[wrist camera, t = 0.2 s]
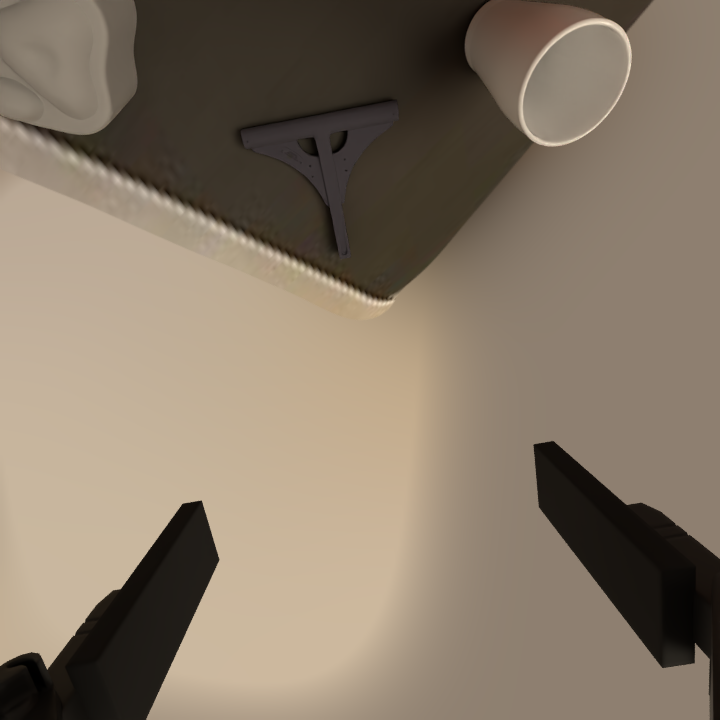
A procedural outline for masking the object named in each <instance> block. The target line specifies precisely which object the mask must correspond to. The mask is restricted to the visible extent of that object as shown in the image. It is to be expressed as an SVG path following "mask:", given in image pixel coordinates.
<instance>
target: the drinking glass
mask: <svg viewBox="0 0 720 720" xmlns="http://www.w3.org/2000/svg"><path fill="white" fill-rule="evenodd" d="M465 55H466V59H467V62H468V64H469V66H470V67H471V69H472V70H473V71H474V72H475V73H476V74H477V75H478V76H479V78H480V79H481V81H482V82H483V84H484V85H485V87H486V88H487V90H488V91H489V93H490V94H491V96H492V97H493V99H494V101H495V102H496V104H497V105H498V107H499V108H500V110H501V111H502V112H503V114H504V115H505V116H506V117H507V119H508V120H509V121H510V122H511V123H512V124H513V125H514V126H515V127H516V128H517V129H518V130H519V131H521V132H522V133H523V134H524V135H526V136H527V137H528V138H529V139H531V140H532V141H533V142H535V143H537V144H540V145H543V146H561V145H565V144H568V143H571V142H574V141H576V140H578V139H580V138H582V137H583V136H585V135H586V134H588V133H589V132H591V131H592V130H593V129H594V128H595V127H597V126H598V125H599V124H600V123H601V122H602V121H603V120H604V119H605V117H607V115H608V114H609V113H610V112H611V110H612V109H613V108H614V106H615V104H616V103H617V102H618V100H619V98H620V96H621V94H622V92H623V90H624V88H625V86H626V83H627V80H628V76H629V73H630V68H631V56H632V55H631V46H630V42H629V39H628V37H627V35H626V33H625V31H624V30H623V29H622V28H621V27H620V26H619V25H618V24H617V23H615V22H614V21H612V20H609V19H607V18H605V17H604V16H602V15H600V14H597V13H595V12H593V11H590V10H587V9H584V8H581V7H577V6H572V5H567V4H559V3H547V2H536V1H527V0H490V1H489V2H487V3H486V4H484V5H483V6H482V7H481V8H480V9H479V10H478V12H477V13H476V14H475V16H474V17H473V19H472V20H471V22H470V25H469V27H468V30H467V33H466V38H465Z"/></svg>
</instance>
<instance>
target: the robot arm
mask: <svg viewBox="0 0 720 720" xmlns="http://www.w3.org/2000/svg"><path fill="white" fill-rule="evenodd" d="M534 454H535V466H536V478H537V490H538V502H539V508H540V509H541V510H542V512H543V513H544V514H545V516H546V517H547V518H548V519H549V521H550V522H551V523H552V525H553V526H554V527H555V529H556V530H557V531H558V533H559V534H560V535H561V536H562V538H563V539H564V540H565V542H566V543H567V544H568V546H569V547H570V548H571V550H572V551H573V552H574V553H575V555H576V556H577V557H578V559H579V560H580V561H581V563H582V564H583V565H584V566H585V568H586V569H587V570H588V572H589V573H590V574H591V576H592V577H593V578H594V580H595V581H596V582H597V583H598V585H599V586H600V587H601V589H602V590H603V591H604V593H605V594H606V595H607V596H608V598H609V599H610V600H611V602H612V603H613V604H614V606H615V607H616V608H617V609H618V611H619V612H620V613H621V615H622V616H623V617H624V619H625V620H626V621H627V622H628V624H629V625H630V626H631V628H632V629H633V630H634V632H635V633H636V634H637V635H638V637H639V638H640V639H641V641H642V642H643V643H644V645H645V646H646V647H647V649H648V650H649V651H650V652H651V654H652V655H653V656H654V658H655V659H656V660H657V662H658V663H659V664H660V665H661V667H662V668H666V667H673V666H679V665H686V664H692V663H695V643H696V644H697V645H698V647H699V648H700V649H701V650H702V651H703V652H704V653H705V654H706V655H707V656H708V658H709V659H710V669H709V671H710V672H709V695H710V720H720V559H719V558H718V557H717V556H715V555H714V554H713V553H712V552H710V551H709V550H708V549H707V548H705V547H704V546H703V545H702V544H700V543H699V542H698V541H697V540H695V539H694V538H693V537H692V536H690V535H688V534H687V532H685V531H684V530H683V529H682V528H680V527H679V526H676V525H675V523H674V522H673V521H671V520H670V519H669V518H668V517H666V516H665V515H664V514H663V513H662V512H660V511H658V510H656V509H654V508H651V507H650V506H647V505H645V504H643V503H637V504H631V505H626V504H625V503H623V502H622V501H621V500H620V499H619V498H618V497H617V496H615V495H614V494H613V493H612V492H611V491H610V490H609V489H608V488H606V487H605V486H604V485H603V484H602V483H601V482H599V481H598V480H597V479H596V478H595V477H594V476H593V475H592V474H590V473H589V472H588V471H587V470H586V469H584V467H582V466H581V465H580V464H579V463H578V462H577V461H575V460H574V459H573V458H572V457H571V456H570V455H569V454H568V453H566V452H565V451H564V450H563V449H562V448H561V447H560V446H558V445H557V444H556V443H555V442H554V441H551V442H545V443H539V444H534ZM218 562H219V557H218V554H217V550H216V547H215V544H214V541H213V537H212V534H211V530H210V527H209V523H208V520H207V517H206V513H205V510H204V507H203V503H202V501H196V502H191V503H184V504H182V505H181V507H180V508H179V510H178V511H177V512H176V514H175V515H174V517H173V518H172V519H171V521H170V522H169V523H168V525H167V526H166V528H165V529H164V530H163V532H162V533H161V534H160V536H159V537H158V539H157V540H156V542H155V543H154V544H153V546H152V547H151V548H150V550H149V551H148V552H147V554H146V555H145V557H144V558H143V559H142V561H141V562H140V563H139V565H138V566H137V568H136V569H135V570H134V572H133V573H132V574H131V576H130V577H129V579H128V580H127V581H126V583H125V584H124V586H123V587H122V588H121V589H120V590H113V591H112V592H111V593H110V594H109V595H107V596H106V597H105V598H104V599H103V600H102V601H101V602H99V603H98V604H97V605H96V607H95V608H94V609H93V611H92V612H91V613H90V614H89V616H88V617H87V618H86V620H85V623H83V624H82V625H81V626H80V628H79V629H78V630H77V632H76V634H75V636H73V637H72V638H71V639H70V641H69V642H68V643H67V645H66V646H65V647H64V649H63V650H62V651H61V652H60V654H59V655H58V656H57V658H56V659H55V660H54V662H53V663H52V664H51V666H50V667H49V668H48V670H47V669H46V666H45V664H44V662H43V660H42V658H41V656H40V655H39V654H38V653H32V652H31V653H27V654H23V655H20V656H18V657H16V658H14V659H12V660H9V661H7V662H6V663H4V664H3V665H1V666H0V720H146V718H147V716H148V714H149V712H150V709H151V707H152V705H153V703H154V701H155V699H156V696H157V694H158V692H159V690H160V688H161V685H162V683H163V681H164V679H165V677H166V675H167V673H168V670H169V668H170V666H171V664H172V662H173V660H174V657H175V655H176V653H177V651H178V649H179V647H180V644H181V642H182V640H183V638H184V636H185V634H186V631H187V629H188V627H189V625H190V623H191V620H192V618H193V616H194V614H195V612H196V610H197V607H198V605H199V603H200V601H201V599H202V596H203V594H204V592H205V590H206V588H207V586H208V584H209V581H210V579H211V577H212V575H213V573H214V570H215V568H216V566H217V564H218Z"/></svg>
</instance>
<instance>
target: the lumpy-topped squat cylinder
mask: <svg viewBox="0 0 720 720" xmlns="http://www.w3.org/2000/svg"><path fill="white" fill-rule="evenodd" d="M136 24H137V14H136V7H135V3H134V0H0V115H1V116H4V117H6V118H9V119H13V120H18V121H22V122H26V123H29V124H32V125H36V126H40V127H44V128H49V129H53V130H57V131H61V132H66V133H71V134H78V135H89V134H93V133H96V132H98V131H100V130H102V129H103V128H105V127H106V126H107V125H108V124H109V123H110V122H111V121H112V120H113V119H114V118H115V117H116V115H117V114H118V113H119V112H120V111H121V110H122V109H123V107H124V106H125V105H126V104H127V103H128V102H129V101H130V99H131V98H132V97H133V96H134V95H135V93H136V90H137V72H136V66H135V60H134V39H135V32H136Z"/></svg>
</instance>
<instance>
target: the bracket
mask: <svg viewBox="0 0 720 720" xmlns="http://www.w3.org/2000/svg"><path fill="white" fill-rule="evenodd" d="M397 120H399V111H398V104H397V100H393V101H388V102H382V103H377V104H372V105H367V106H362V107H356V108H351V109H346V110H341V111H335V112H330V113H325V114H320V115H315V116H309V117H304V118H299V119H294V120H289V121H283V122H278V123H273V124H268V125H263V126H257V127H252V128H247V129H242V130H241V137H242V141H243V144H244V146H245V148H246V149H250V148H252V150H253V151H254V152H256V153H260V154H264V155H267V156H271V157H273V158H276V159H279V160H281V161H283V162H285V163H287V164H289V165H290V166H292V167H294V168H295V169H297V170H298V171H299V172H301V173H302V174H303V175H305V176H306V177H307V178H308V179H309V180H310V181H311V183H312V184H313V185H314V186H315V187H316V189H317V190H318V191H319V193H320V195H321V196H322V198H323V200H324V202H325V204H326V205H327V206H330V211H331V215H332V220H333V226H334V231H335V236H336V241H337V246H338V251H339V256H340V259H344V258H350V257H351V253H350V247H349V242H348V236H347V231H346V225H345V220H344V214H343V209H342V203H344V200H345V192H346V186H347V182H348V179H349V176H350V173H351V170H352V168H353V166H354V165H355V163H356V161H357V160H358V158H359V157H360V155H361V154H362V153H363V151H364V150H365V149H366V148H367V147H368V145H369V144H370V143H371V142H372V141H373V140H375V139H376V138H377V137H378V136H379V135H380V134H382V133H383V132H384V131H386V130H387V129H388V128H390V127H391V126H392V125H393V121H397ZM345 130H347V131H348V134H347V139H346V142H345V144H344V146H343V147H342V148H341V149H340V150H338V151H337V152H333V153H332V149H331V143H330V135H331V134H332V133H336V132H340V131H345ZM310 137H313V138H314V139H315V141H316V144H317V148H318V153H319V155H318V156H314V155H310V154H308V153H306V152H305V151H303V150H302V148H301V147H300V146H299V144H298V142H297V140H298V139H303V138H310ZM344 158H345V159H344ZM310 165H311V166H310ZM346 169H347V170H346Z"/></svg>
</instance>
